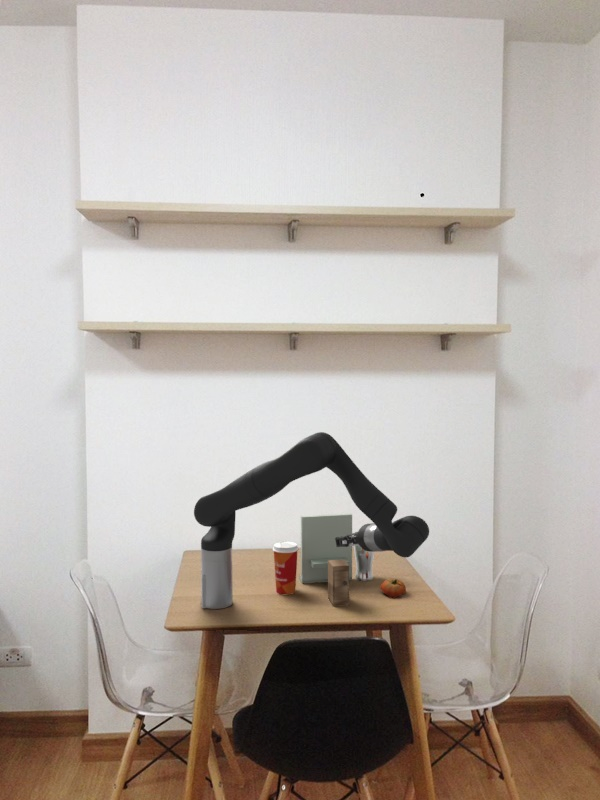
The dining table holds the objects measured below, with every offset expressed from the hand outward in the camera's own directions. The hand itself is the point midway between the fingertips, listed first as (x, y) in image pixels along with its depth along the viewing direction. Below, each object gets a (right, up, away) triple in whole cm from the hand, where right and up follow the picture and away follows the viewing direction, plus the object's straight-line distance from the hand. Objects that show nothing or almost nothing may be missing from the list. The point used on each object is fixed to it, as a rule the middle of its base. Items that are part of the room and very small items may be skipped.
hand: (350, 538), depth 185 cm
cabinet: (-3, -21, +6) cm, 22 cm away
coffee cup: (-19, -20, +15) cm, 32 cm away
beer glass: (+7, -20, +27) cm, 34 cm away
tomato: (+15, -20, +13) cm, 28 cm away
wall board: (-6, -20, +23) cm, 31 cm away
